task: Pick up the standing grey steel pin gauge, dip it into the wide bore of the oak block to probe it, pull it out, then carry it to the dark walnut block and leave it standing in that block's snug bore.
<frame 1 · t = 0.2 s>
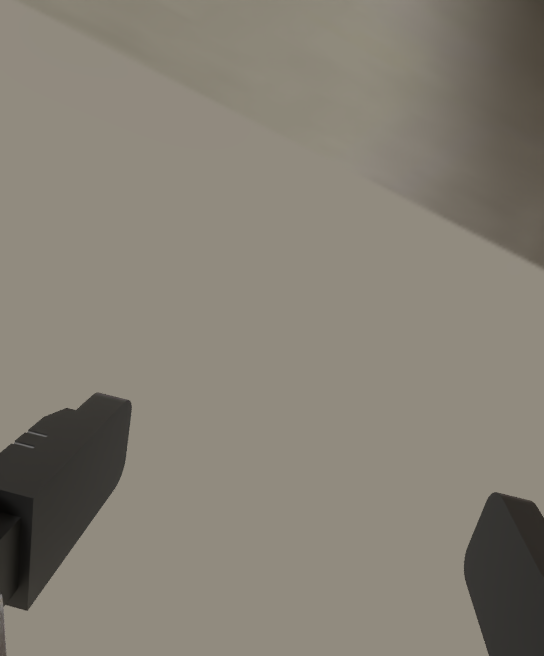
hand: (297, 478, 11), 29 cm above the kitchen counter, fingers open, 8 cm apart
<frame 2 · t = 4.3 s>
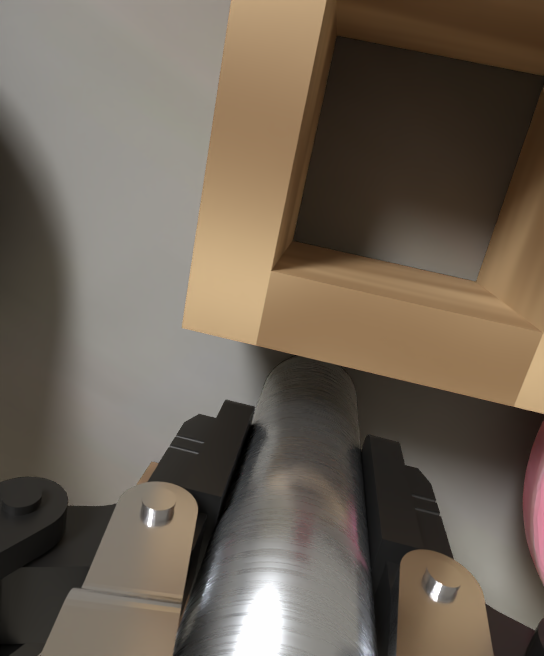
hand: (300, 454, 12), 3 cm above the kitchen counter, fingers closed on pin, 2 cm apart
oak block: (410, 164, 12), on the kitchen counter
pin: (309, 399, 15), on the kitchen counter, touching gripper
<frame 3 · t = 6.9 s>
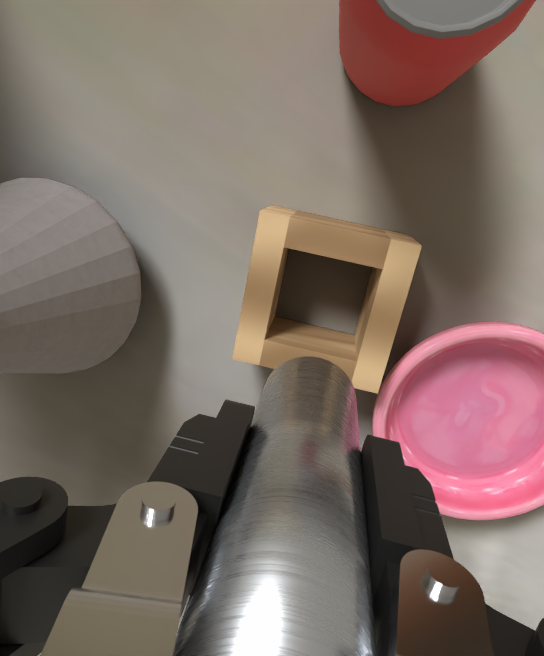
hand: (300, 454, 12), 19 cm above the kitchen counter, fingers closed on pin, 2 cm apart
beer can: (403, 38, 25), on the kitchen counter
oak block: (323, 286, 29), on the kitchen counter
pin: (308, 400, 15), point 15 cm above the kitchen counter, touching gripper
coffee pot: (52, 336, 33), on the kitchen counter
saucer: (469, 405, 31), on the kitchen counter
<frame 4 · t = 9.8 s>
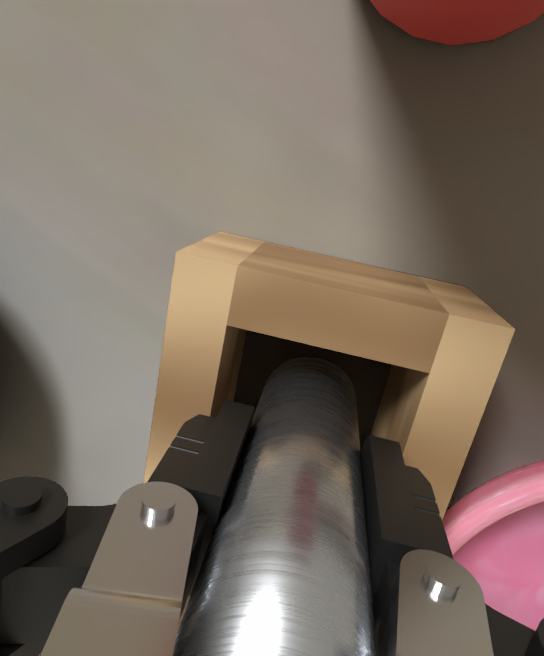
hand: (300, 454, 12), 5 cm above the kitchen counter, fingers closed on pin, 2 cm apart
oak block: (312, 371, 17), on the kitchen counter
pin: (308, 400, 15), point 2 cm above the kitchen counter, touching gripper
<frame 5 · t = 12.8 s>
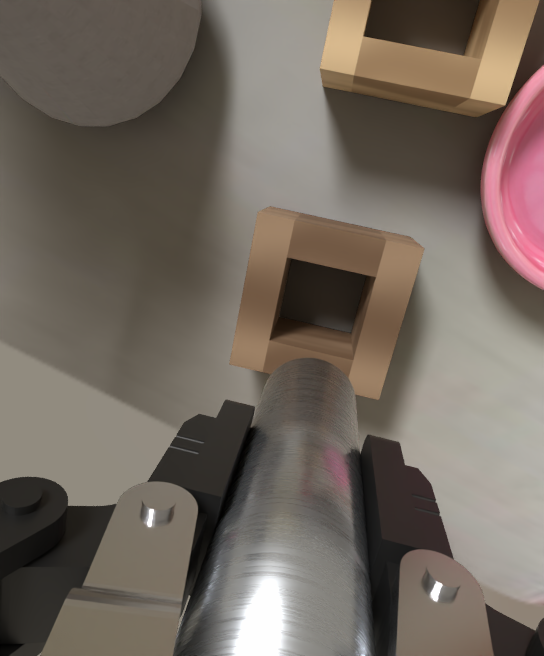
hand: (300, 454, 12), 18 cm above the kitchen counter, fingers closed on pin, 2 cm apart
walnut block: (323, 289, 29), on the kitchen counter
oak block: (421, 13, 24), on the kitchen counter
pin: (308, 401, 15), point 15 cm above the kitchen counter, touching gripper
coffee pot: (85, 108, 27), on the kitchen counter
when the fingers open (5 cm above the kitchen counter, at t = 15.2 s): pin drops 2 cm, resting in walnut block.
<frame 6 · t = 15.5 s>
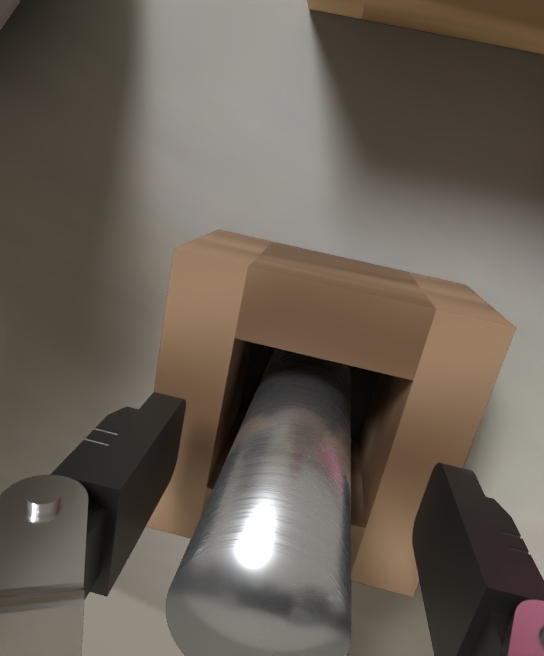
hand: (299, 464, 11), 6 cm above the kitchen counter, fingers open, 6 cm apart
walnut block: (311, 370, 17), on the kitchen counter
pin: (309, 372, 17), resting in walnut block
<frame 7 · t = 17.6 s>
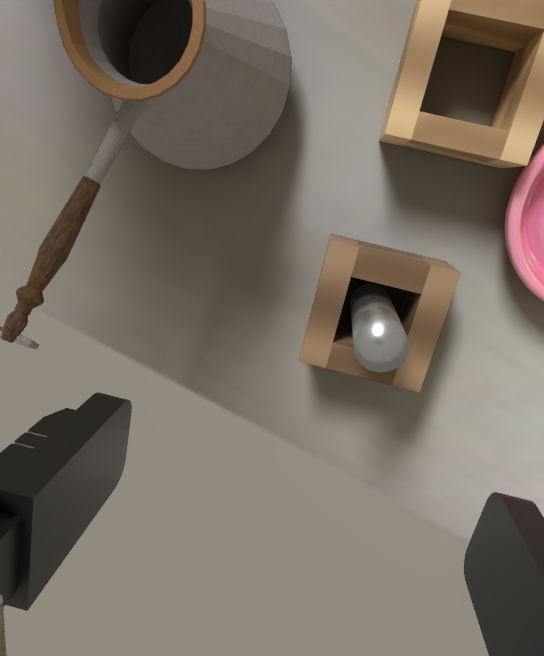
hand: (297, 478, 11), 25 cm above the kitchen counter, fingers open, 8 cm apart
walnut block: (371, 302, 35), on the kitchen counter
oak block: (460, 87, 30), on the kitchen counter
pin: (370, 303, 35), resting in walnut block
coffee pot: (182, 152, 34), on the kitchen counter
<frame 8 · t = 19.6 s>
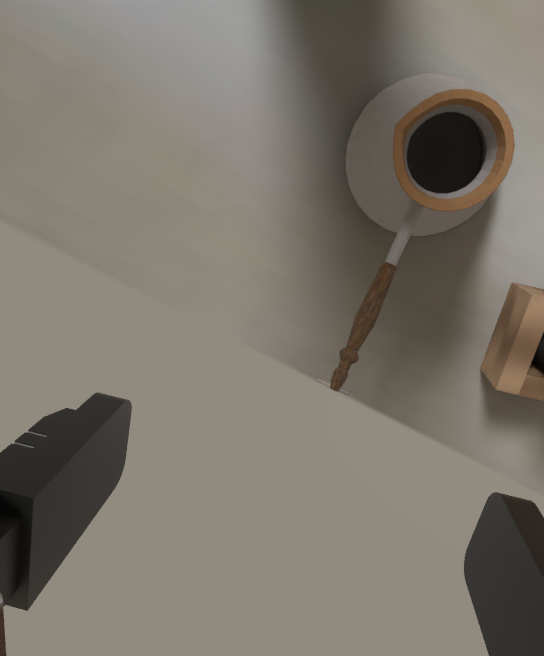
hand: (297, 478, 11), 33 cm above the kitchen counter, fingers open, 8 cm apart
walnut block: (542, 337, 42), on the kitchen counter
pin: (540, 337, 42), resting in walnut block
coffee pot: (387, 216, 41), on the kitchen counter
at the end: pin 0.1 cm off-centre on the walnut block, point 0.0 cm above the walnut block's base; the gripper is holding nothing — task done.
